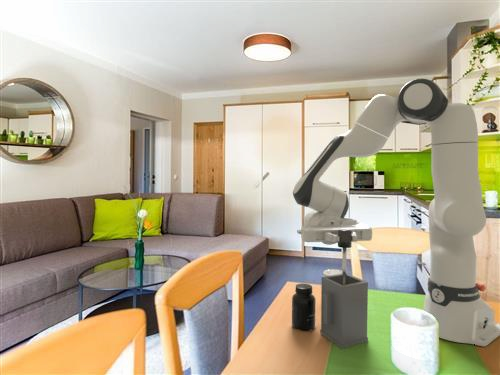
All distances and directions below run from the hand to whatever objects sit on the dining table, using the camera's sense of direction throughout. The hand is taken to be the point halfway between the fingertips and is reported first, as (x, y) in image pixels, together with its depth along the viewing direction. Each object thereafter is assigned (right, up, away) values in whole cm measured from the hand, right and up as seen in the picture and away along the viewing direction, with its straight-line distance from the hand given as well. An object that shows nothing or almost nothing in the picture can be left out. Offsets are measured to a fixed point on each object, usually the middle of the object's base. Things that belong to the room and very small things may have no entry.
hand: (346, 239), depth 88 cm
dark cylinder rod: (0, -15, +2) cm, 15 cm away
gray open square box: (0, -27, +2) cm, 27 cm away
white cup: (+4, -26, +27) cm, 38 cm away
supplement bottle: (-10, -27, +9) cm, 30 cm away
